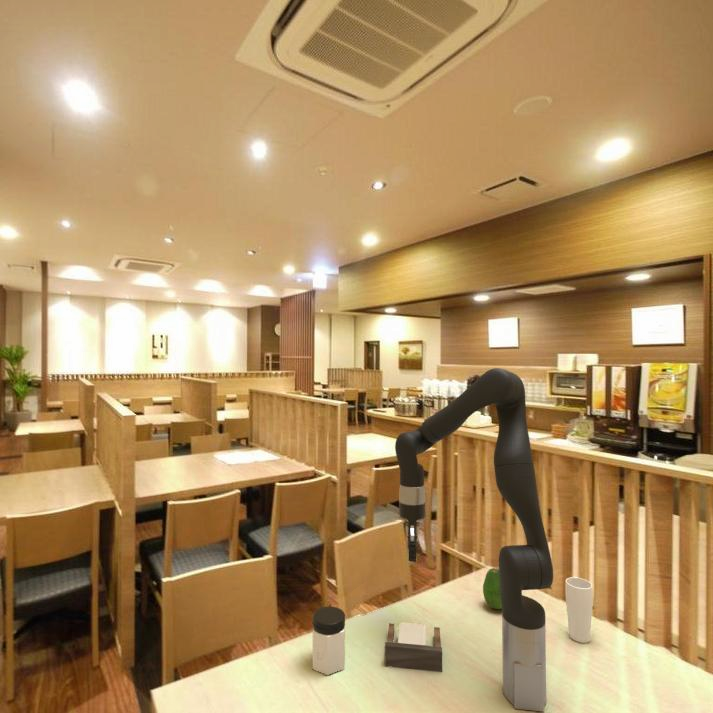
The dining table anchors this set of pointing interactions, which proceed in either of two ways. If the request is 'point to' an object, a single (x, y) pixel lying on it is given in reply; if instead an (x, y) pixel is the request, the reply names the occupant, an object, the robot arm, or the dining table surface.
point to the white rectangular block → (412, 633)
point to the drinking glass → (579, 608)
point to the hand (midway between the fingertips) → (412, 560)
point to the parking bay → (413, 653)
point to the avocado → (492, 589)
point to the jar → (328, 640)
